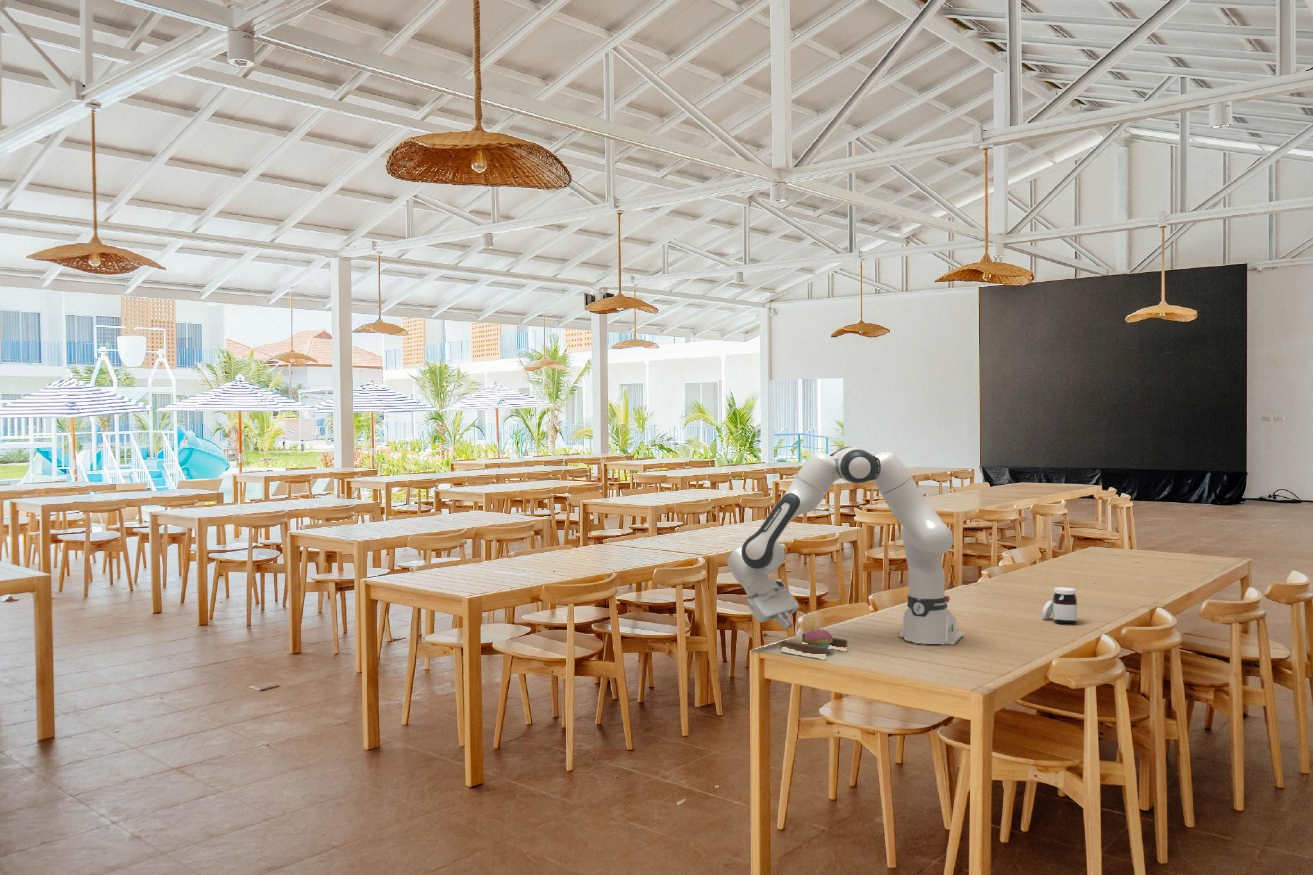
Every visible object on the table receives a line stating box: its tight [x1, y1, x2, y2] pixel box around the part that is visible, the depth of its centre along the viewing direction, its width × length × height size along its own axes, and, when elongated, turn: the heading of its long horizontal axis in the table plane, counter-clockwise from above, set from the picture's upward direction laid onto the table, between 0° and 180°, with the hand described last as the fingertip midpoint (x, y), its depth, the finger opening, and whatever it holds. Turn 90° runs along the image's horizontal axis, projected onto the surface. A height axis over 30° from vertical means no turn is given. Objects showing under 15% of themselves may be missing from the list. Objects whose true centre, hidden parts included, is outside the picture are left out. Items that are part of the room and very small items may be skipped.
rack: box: [780, 632, 848, 654], centre depth 296 cm, size 14×15×4 cm
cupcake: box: [805, 614, 833, 650], centre depth 295 cm, size 9×8×12 cm
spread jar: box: [1040, 586, 1078, 625], centre depth 335 cm, size 12×11×12 cm
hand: (789, 626), depth 301 cm, fingers closed
